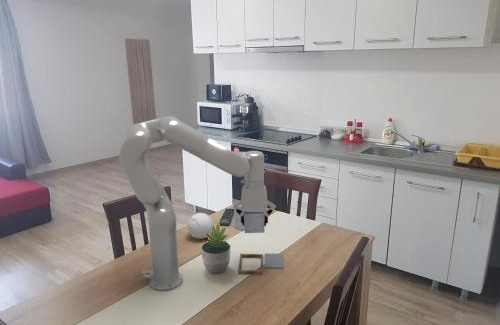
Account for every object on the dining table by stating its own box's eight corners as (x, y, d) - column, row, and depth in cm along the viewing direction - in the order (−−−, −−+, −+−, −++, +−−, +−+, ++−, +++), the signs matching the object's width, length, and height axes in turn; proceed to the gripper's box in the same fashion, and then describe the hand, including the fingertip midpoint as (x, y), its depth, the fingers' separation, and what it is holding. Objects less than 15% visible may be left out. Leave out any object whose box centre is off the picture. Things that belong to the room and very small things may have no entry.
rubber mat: (264, 268, 150) (264, 267, 150) (264, 254, 160) (264, 253, 160) (283, 268, 149) (283, 267, 149) (282, 254, 160) (282, 253, 160)
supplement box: (254, 225, 188) (254, 202, 185) (246, 231, 182) (246, 207, 179) (242, 222, 192) (241, 199, 189) (233, 228, 186) (233, 204, 183)
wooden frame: (238, 274, 146) (238, 271, 145) (240, 256, 159) (240, 253, 158) (262, 274, 145) (262, 271, 145) (262, 257, 158) (262, 254, 158)
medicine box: (264, 228, 150) (263, 208, 148) (264, 233, 146) (263, 212, 144) (245, 228, 151) (244, 208, 148) (244, 233, 146) (243, 213, 144)
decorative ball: (183, 236, 177) (182, 213, 174) (204, 229, 185) (203, 207, 181) (196, 245, 168) (195, 221, 165) (218, 237, 176) (217, 214, 173)
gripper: (230, 186, 140) (231, 228, 144) (277, 186, 139) (276, 229, 144) (232, 179, 147) (233, 220, 152) (276, 180, 146) (275, 220, 151)
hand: (254, 224), depth 148 cm, fingers closed on medicine box, 8 cm apart
